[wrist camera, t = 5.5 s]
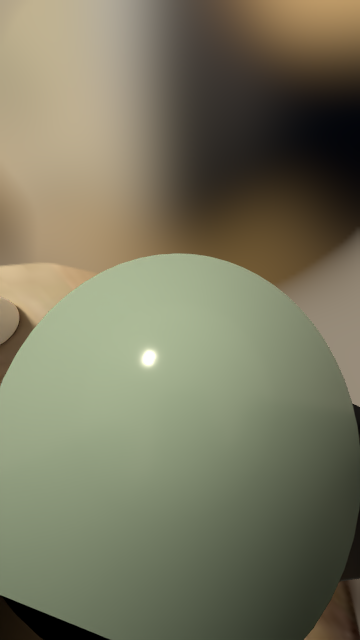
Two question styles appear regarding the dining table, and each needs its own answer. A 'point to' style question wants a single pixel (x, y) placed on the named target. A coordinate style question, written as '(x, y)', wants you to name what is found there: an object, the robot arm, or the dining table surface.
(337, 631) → the dining table surface
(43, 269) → the dining table surface
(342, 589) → the dining table surface
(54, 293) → the dining table surface
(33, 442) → the sage green mushroom knob
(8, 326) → the white milk bottle
